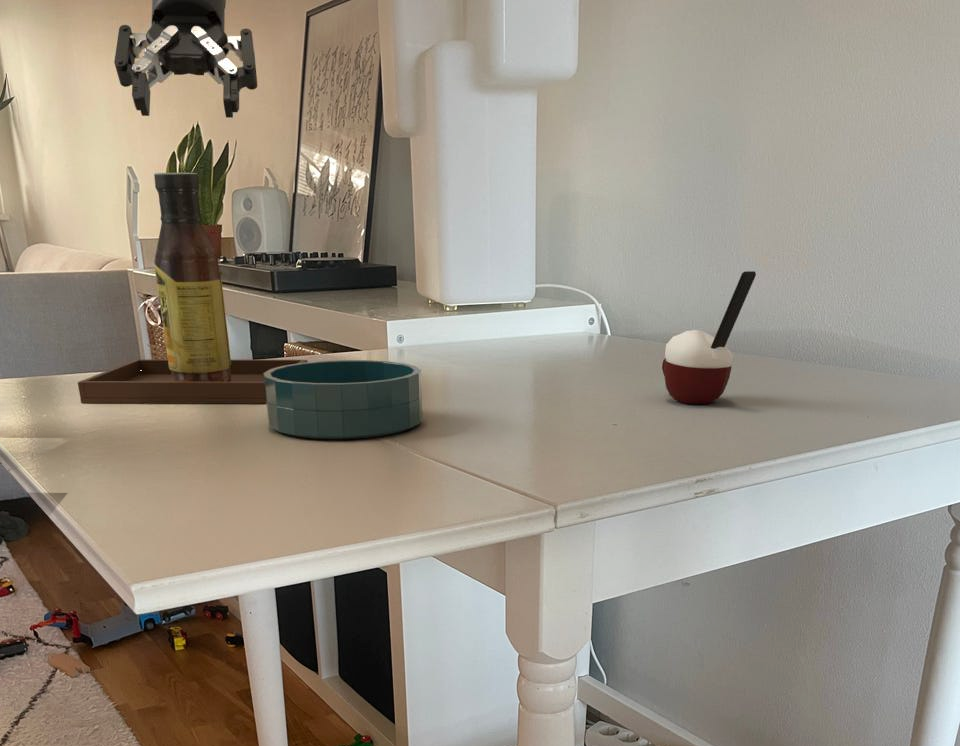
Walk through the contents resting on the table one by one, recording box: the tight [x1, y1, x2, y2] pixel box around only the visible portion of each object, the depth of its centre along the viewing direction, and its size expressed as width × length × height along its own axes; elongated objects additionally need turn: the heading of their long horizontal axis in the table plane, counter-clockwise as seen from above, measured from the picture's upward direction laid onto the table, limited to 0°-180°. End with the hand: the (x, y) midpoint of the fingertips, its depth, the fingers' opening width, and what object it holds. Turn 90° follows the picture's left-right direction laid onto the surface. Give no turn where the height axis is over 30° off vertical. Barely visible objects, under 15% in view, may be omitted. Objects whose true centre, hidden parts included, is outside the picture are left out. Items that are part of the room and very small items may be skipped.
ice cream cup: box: [661, 270, 757, 405], centre depth 91 cm, size 10×6×12 cm, turn 10°
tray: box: [77, 358, 309, 405], centre depth 100 cm, size 19×15×2 cm
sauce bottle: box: [153, 172, 232, 382], centre depth 97 cm, size 7×6×20 cm
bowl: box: [263, 359, 423, 440], centre depth 84 cm, size 13×13×4 cm
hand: (186, 109), depth 100 cm, fingers open, 8 cm apart
